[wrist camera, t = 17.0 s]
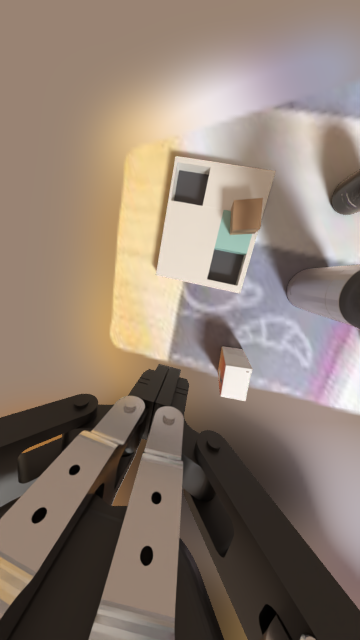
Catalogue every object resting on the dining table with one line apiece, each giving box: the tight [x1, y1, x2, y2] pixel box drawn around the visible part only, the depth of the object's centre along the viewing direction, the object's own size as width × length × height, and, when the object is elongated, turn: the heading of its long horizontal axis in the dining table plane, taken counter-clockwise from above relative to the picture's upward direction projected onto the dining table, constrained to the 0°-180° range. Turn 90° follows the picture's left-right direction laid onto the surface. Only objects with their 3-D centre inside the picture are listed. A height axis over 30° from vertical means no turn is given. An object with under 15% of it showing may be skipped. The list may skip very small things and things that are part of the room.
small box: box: [218, 346, 253, 401], centre depth 43 cm, size 8×6×10 cm
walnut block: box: [230, 198, 263, 235], centre depth 35 cm, size 5×5×4 cm
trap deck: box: [156, 156, 276, 293], centre depth 40 cm, size 20×24×3 cm
